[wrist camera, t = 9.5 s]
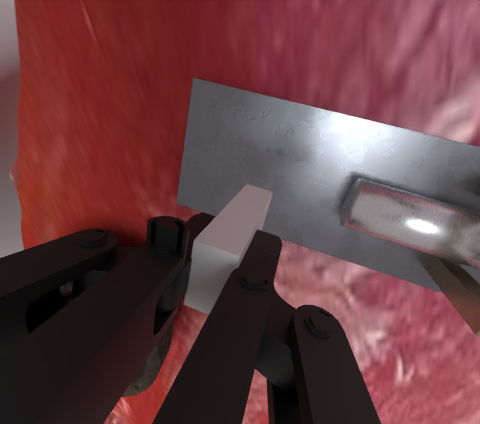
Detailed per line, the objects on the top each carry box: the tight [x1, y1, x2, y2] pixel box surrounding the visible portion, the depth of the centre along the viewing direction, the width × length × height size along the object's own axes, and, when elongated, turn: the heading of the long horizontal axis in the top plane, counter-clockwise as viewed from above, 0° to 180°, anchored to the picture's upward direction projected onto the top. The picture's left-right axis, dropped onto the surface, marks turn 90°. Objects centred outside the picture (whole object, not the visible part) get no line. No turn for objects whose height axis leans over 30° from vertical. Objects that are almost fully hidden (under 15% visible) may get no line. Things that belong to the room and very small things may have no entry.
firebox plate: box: [176, 78, 480, 336], centre depth 20 cm, size 14×44×10 cm, turn 77°
